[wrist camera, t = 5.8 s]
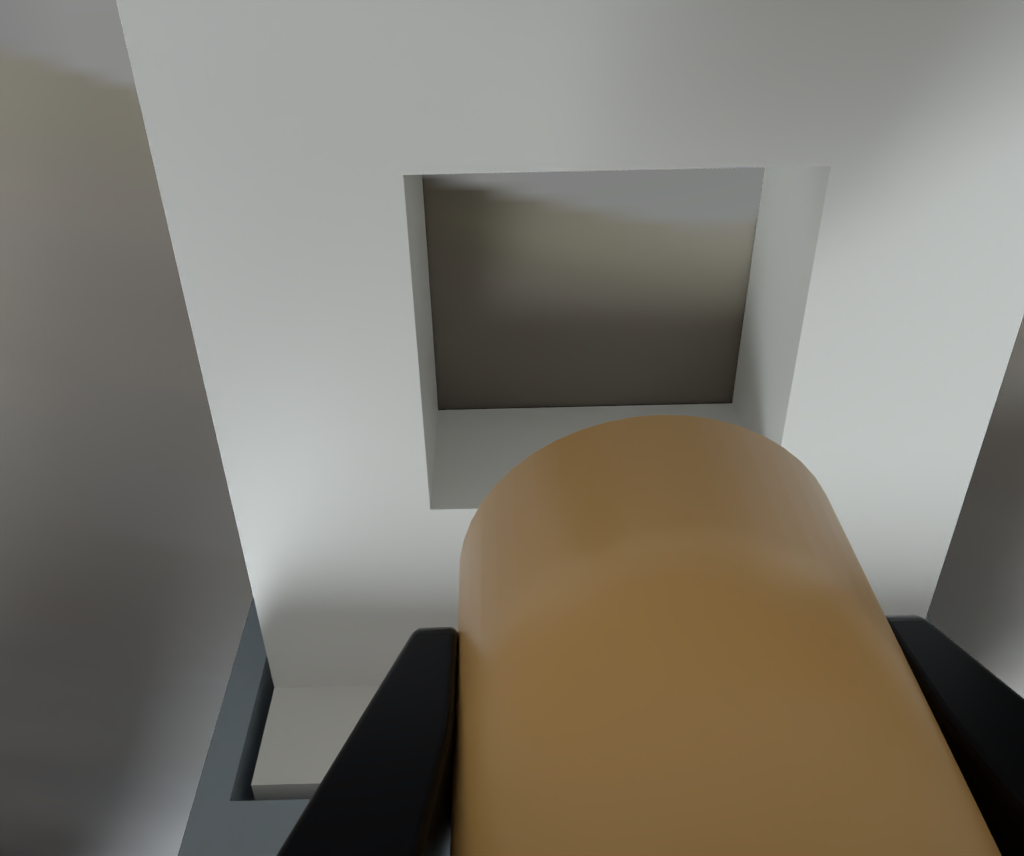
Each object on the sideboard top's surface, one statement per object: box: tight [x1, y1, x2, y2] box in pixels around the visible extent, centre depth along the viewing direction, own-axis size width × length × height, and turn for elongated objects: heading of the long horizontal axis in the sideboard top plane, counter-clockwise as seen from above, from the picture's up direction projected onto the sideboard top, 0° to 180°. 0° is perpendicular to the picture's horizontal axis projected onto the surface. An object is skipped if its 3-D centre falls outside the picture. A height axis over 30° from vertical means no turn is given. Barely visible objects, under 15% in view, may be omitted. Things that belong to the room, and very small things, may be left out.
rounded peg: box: [450, 415, 1002, 856], centre depth 8 cm, size 4×4×5 cm
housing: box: [116, 0, 1024, 801], centre depth 17 cm, size 12×20×5 cm, turn 1°
